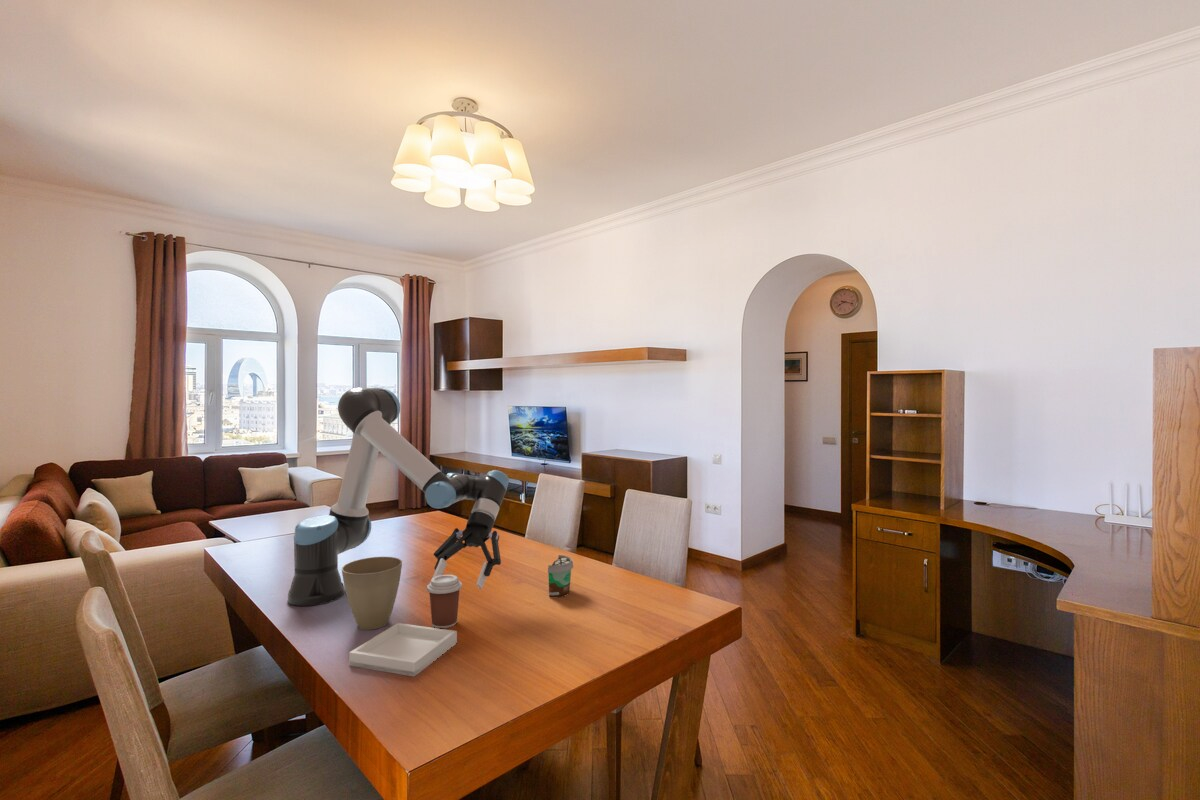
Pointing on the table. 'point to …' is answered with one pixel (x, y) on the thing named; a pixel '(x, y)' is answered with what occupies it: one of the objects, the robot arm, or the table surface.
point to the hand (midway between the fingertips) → (456, 584)
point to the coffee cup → (444, 600)
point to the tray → (403, 649)
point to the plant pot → (372, 589)
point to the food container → (560, 576)
